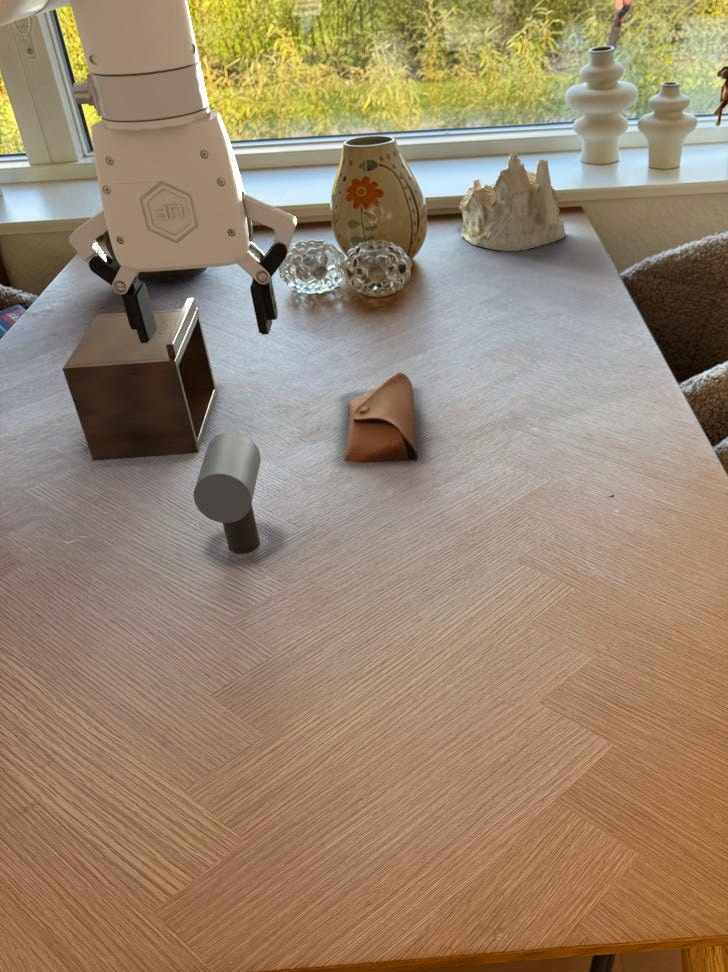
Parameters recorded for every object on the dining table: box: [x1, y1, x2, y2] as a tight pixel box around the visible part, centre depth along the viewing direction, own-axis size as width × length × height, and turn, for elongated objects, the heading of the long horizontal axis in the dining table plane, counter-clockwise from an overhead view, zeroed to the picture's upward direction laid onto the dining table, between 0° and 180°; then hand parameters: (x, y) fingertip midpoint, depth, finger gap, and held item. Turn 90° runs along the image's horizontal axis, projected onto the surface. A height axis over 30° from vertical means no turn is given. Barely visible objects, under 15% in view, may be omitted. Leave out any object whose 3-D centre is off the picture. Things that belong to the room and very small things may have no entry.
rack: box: [62, 297, 218, 461], centre depth 112 cm, size 12×16×12 cm
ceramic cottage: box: [458, 151, 566, 252], centre depth 163 cm, size 16×16×15 cm
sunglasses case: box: [343, 372, 418, 464], centre depth 110 cm, size 18×7×7 cm
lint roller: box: [193, 431, 262, 555], centre depth 89 cm, size 6×8×11 cm
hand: (207, 332), depth 78 cm, fingers open, 9 cm apart
